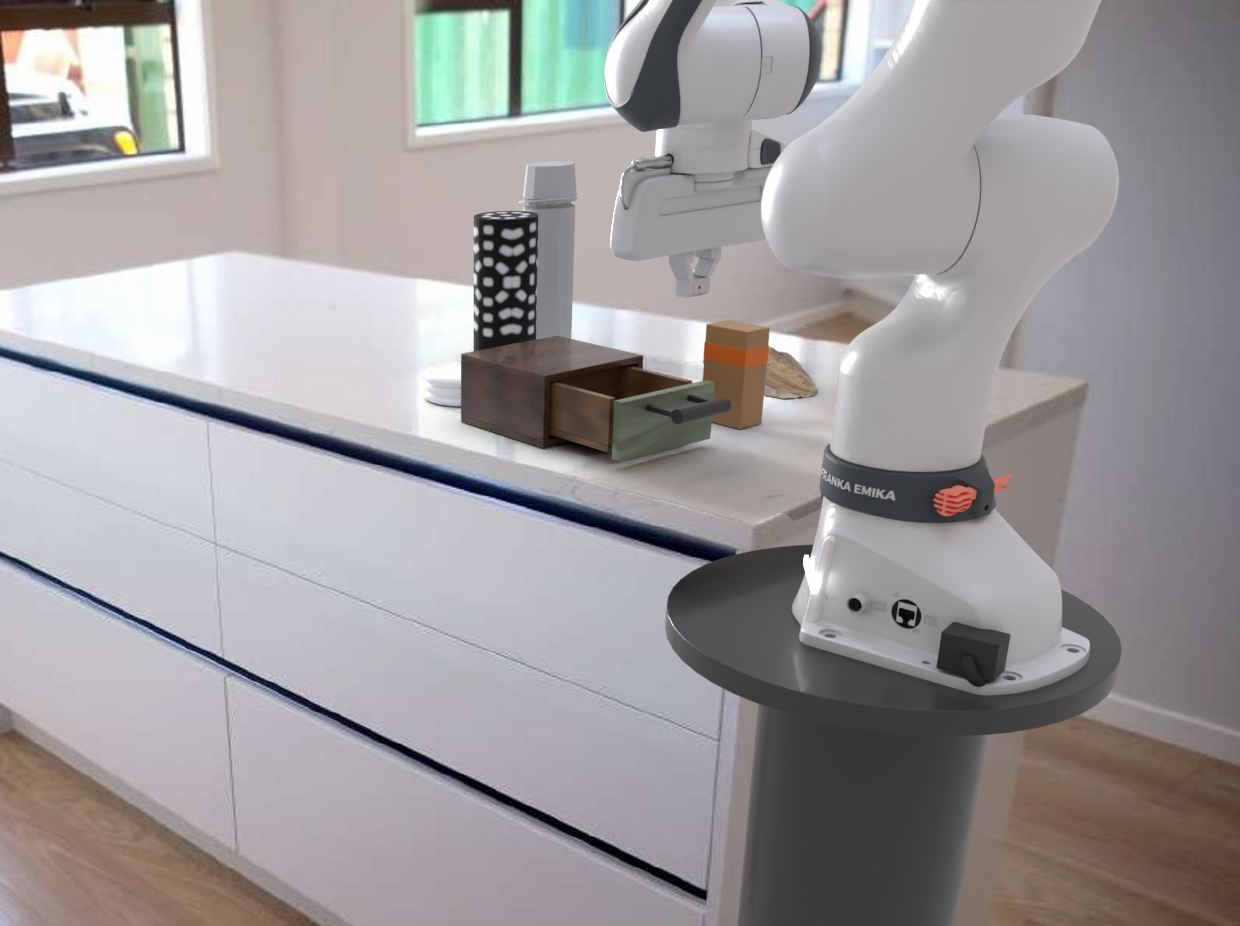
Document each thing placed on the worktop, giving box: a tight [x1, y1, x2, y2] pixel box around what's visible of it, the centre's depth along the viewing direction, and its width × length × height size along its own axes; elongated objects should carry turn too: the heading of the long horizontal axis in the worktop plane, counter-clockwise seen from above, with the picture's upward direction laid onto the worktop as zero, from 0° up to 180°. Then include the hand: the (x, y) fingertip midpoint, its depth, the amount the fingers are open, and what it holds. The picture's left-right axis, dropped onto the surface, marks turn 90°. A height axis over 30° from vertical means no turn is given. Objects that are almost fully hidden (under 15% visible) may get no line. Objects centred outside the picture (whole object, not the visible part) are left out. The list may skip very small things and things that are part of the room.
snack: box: [702, 319, 771, 430], centre depth 160 cm, size 6×4×11 cm, turn 32°
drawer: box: [549, 365, 731, 463], centre depth 151 cm, size 19×13×6 cm
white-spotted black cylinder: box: [473, 210, 539, 351], centre depth 187 cm, size 8×8×20 cm
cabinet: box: [460, 336, 644, 449], centre depth 163 cm, size 15×15×8 cm
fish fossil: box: [703, 346, 819, 400], centre depth 181 cm, size 26×10×1 cm, turn 9°
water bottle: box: [518, 160, 578, 339], centre depth 197 cm, size 9×8×25 cm
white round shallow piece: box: [423, 361, 461, 407], centre depth 176 cm, size 10×10×4 cm
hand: (692, 295), depth 141 cm, fingers closed
